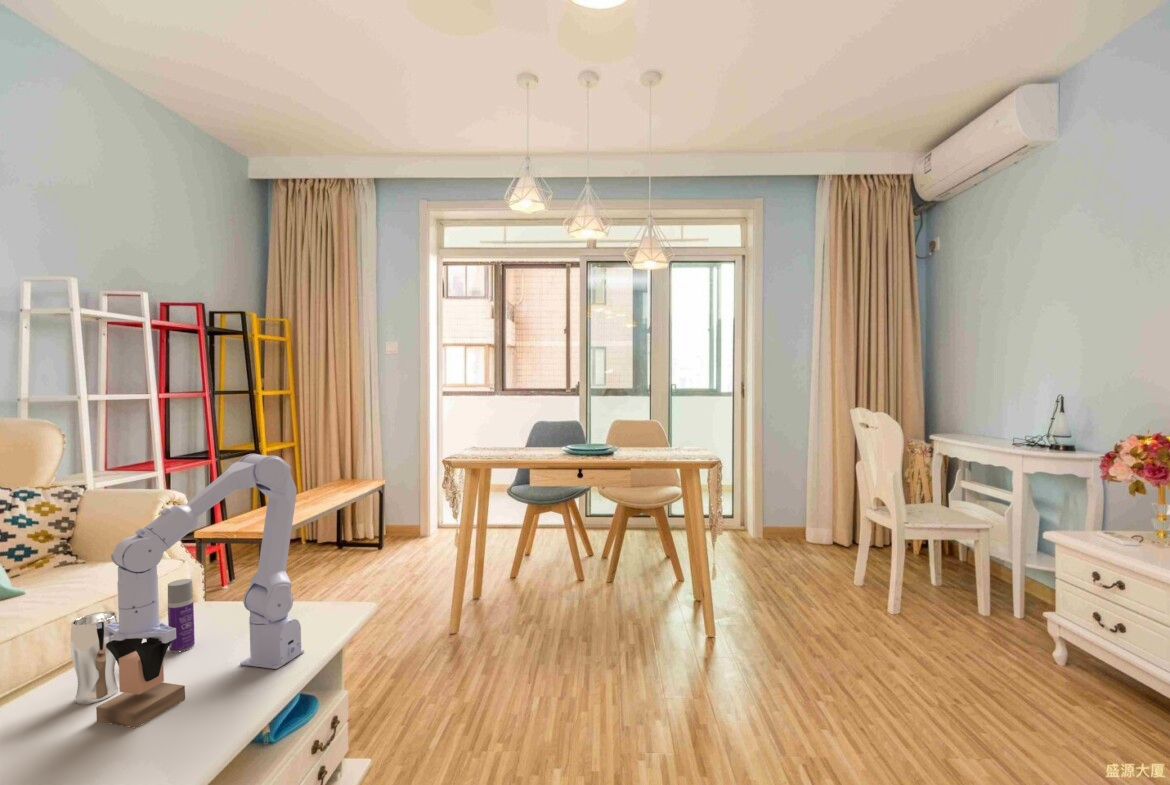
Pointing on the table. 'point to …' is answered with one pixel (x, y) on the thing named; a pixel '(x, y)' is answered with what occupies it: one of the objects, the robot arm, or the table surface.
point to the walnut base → (140, 705)
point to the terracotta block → (135, 675)
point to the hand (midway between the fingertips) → (141, 677)
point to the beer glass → (93, 657)
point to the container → (181, 614)
